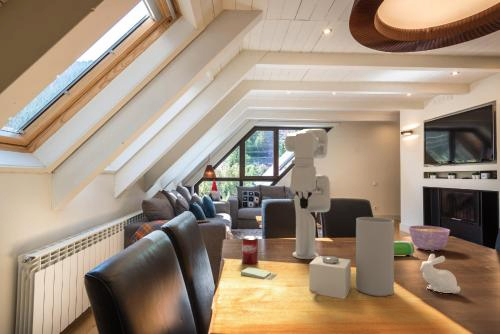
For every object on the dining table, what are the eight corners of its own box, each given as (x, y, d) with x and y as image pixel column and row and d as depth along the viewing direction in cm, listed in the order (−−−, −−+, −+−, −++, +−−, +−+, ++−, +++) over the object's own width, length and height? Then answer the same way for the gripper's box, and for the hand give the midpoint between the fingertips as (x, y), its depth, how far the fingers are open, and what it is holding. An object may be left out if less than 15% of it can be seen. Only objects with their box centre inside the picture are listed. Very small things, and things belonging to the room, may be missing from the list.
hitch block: (317, 282, 122) (318, 255, 122) (350, 287, 117) (350, 259, 117) (309, 292, 111) (309, 263, 111) (344, 299, 106) (345, 268, 106)
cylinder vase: (390, 300, 105) (390, 223, 106) (352, 292, 112) (352, 220, 112) (396, 288, 116) (396, 219, 116) (360, 282, 123) (360, 216, 123)
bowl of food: (450, 248, 180) (450, 227, 180) (449, 256, 163) (449, 233, 163) (410, 244, 190) (410, 224, 191) (406, 250, 174) (406, 229, 174)
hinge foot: (272, 276, 128) (272, 273, 128) (277, 277, 127) (277, 274, 127) (266, 281, 122) (266, 279, 122) (270, 282, 121) (270, 279, 121)
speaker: (406, 253, 167) (406, 239, 167) (415, 257, 160) (415, 242, 160) (374, 254, 165) (374, 239, 165) (382, 258, 158) (382, 243, 158)
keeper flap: (270, 274, 129) (248, 269, 133) (271, 272, 129) (248, 266, 133) (263, 280, 122) (240, 274, 127) (264, 277, 122) (241, 271, 127)
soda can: (256, 267, 140) (256, 239, 140) (240, 266, 142) (240, 239, 142) (259, 262, 147) (259, 236, 147) (243, 261, 149) (244, 235, 149)
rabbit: (418, 288, 116) (418, 255, 116) (427, 283, 122) (427, 251, 123) (457, 298, 107) (457, 262, 107) (464, 291, 114) (464, 257, 114)
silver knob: (324, 283, 118) (324, 255, 118) (339, 286, 115) (340, 257, 115) (320, 288, 113) (320, 259, 113) (336, 291, 110) (337, 261, 110)
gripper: (283, 162, 130) (283, 208, 130) (320, 162, 124) (320, 210, 123) (289, 163, 137) (289, 206, 137) (324, 163, 130) (324, 208, 130)
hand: (304, 208), depth 130 cm, fingers closed
